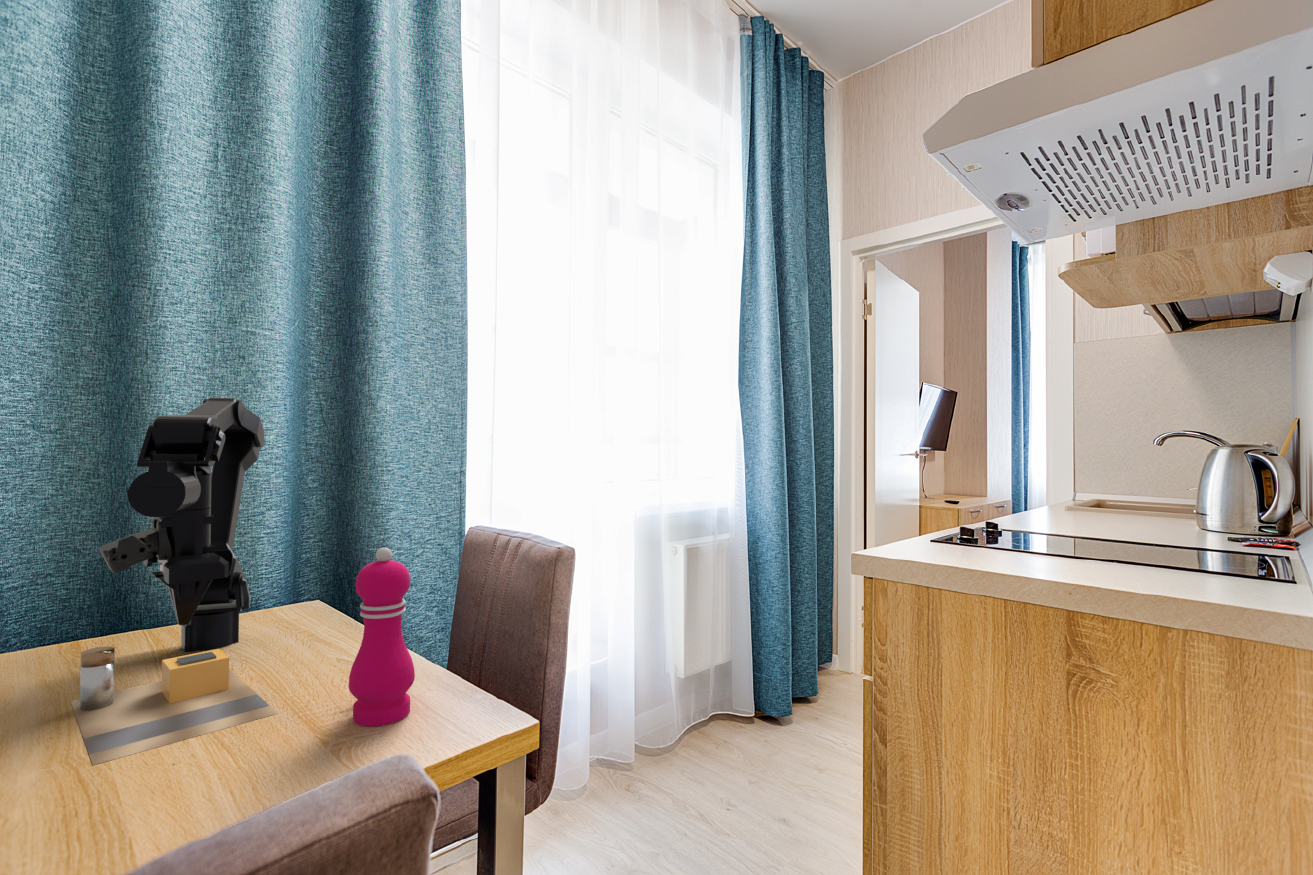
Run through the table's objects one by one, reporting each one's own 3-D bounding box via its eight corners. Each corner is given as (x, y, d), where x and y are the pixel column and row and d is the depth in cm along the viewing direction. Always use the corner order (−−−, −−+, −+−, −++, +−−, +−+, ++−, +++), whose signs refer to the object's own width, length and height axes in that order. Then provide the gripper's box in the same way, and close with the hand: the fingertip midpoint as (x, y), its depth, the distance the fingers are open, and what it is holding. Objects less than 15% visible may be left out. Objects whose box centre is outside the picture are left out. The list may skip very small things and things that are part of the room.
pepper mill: (427, 707, 76) (429, 544, 76) (383, 733, 69) (385, 554, 69) (380, 699, 78) (382, 541, 79) (333, 723, 72) (335, 550, 72)
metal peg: (111, 697, 76) (112, 644, 76) (115, 705, 74) (116, 650, 74) (78, 705, 74) (79, 650, 74) (81, 712, 72) (82, 656, 72)
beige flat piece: (227, 673, 87) (227, 666, 87) (277, 721, 72) (278, 713, 72) (70, 709, 75) (70, 700, 75) (92, 775, 60) (92, 765, 60)
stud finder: (218, 678, 82) (219, 646, 82) (228, 688, 79) (229, 655, 79) (161, 691, 78) (162, 657, 78) (169, 703, 74) (170, 667, 75)
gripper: (96, 507, 84) (94, 622, 84) (116, 520, 72) (114, 655, 71) (196, 502, 92) (195, 607, 92) (230, 512, 80) (229, 634, 80)
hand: (183, 624), depth 84 cm, fingers closed
